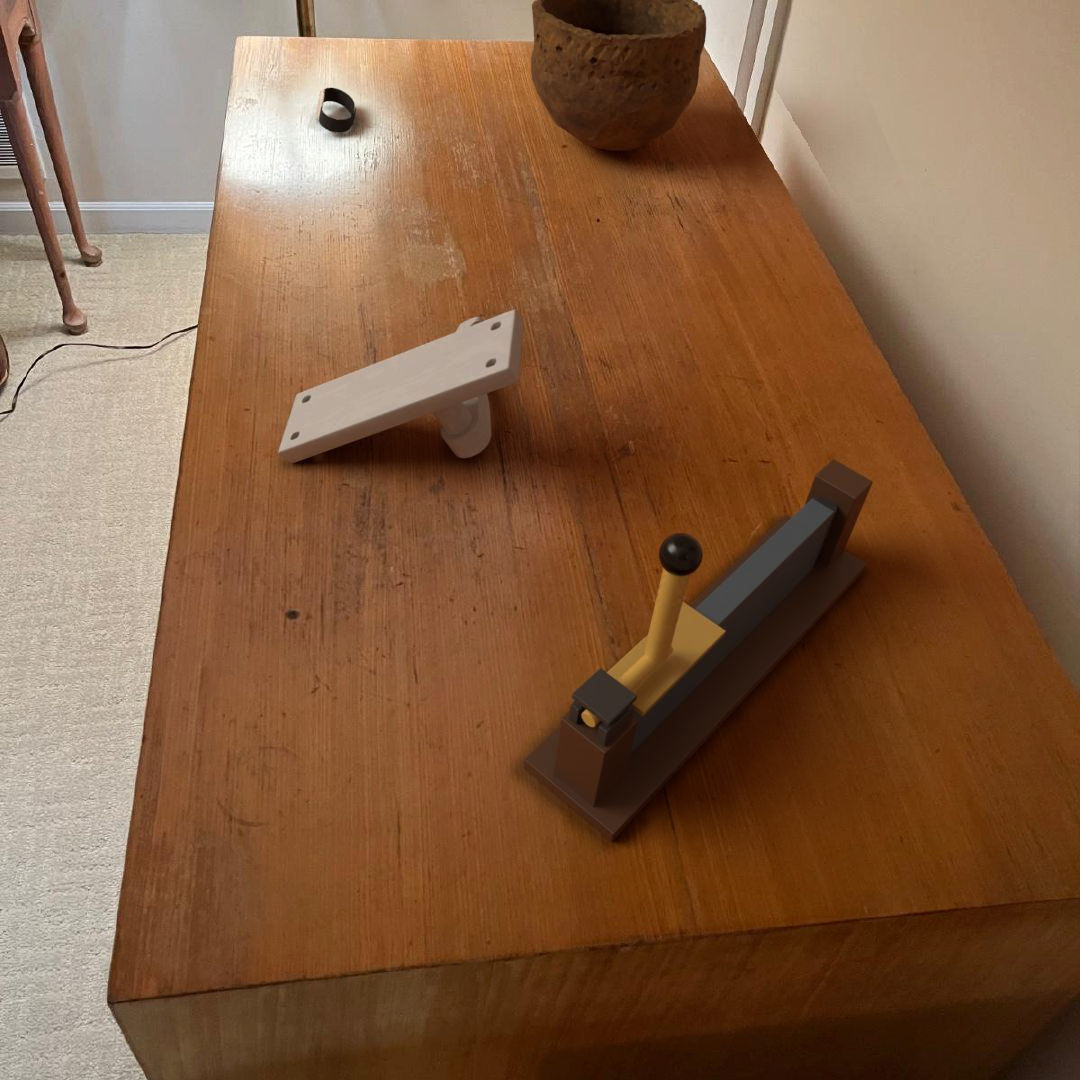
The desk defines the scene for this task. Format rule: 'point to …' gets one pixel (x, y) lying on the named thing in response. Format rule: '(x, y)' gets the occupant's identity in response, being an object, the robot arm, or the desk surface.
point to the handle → (413, 391)
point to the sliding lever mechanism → (704, 661)
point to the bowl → (617, 66)
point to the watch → (341, 99)
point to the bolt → (663, 609)
